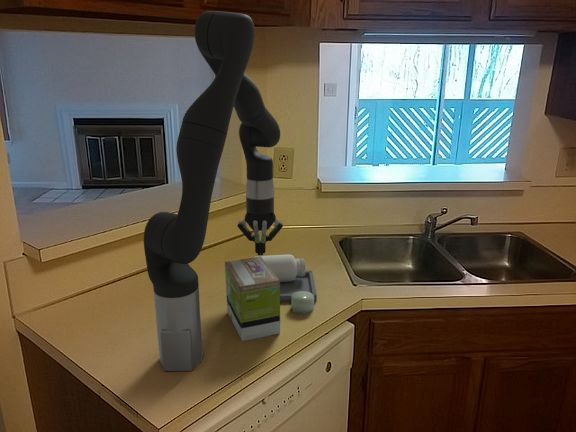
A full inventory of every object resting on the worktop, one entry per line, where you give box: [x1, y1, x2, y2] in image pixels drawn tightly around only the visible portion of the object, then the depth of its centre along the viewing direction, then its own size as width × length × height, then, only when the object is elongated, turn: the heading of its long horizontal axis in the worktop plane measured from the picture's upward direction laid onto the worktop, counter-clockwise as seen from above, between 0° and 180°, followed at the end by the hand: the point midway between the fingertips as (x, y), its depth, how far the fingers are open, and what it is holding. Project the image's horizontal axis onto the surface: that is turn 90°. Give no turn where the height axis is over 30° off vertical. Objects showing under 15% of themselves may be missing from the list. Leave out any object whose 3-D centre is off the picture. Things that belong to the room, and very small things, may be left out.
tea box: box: [224, 255, 281, 342], centre depth 120 cm, size 15×10×15 cm, turn 21°
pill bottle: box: [252, 253, 307, 282], centre depth 143 cm, size 8×8×15 cm
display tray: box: [280, 270, 318, 303], centre depth 140 cm, size 16×16×2 cm
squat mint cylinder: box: [290, 291, 315, 315], centre depth 129 cm, size 6×6×4 cm
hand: (260, 254), depth 137 cm, fingers closed
